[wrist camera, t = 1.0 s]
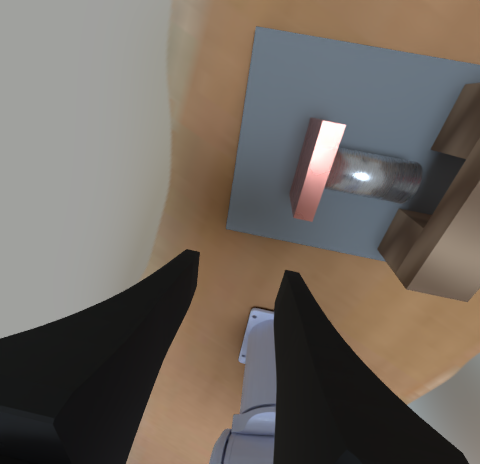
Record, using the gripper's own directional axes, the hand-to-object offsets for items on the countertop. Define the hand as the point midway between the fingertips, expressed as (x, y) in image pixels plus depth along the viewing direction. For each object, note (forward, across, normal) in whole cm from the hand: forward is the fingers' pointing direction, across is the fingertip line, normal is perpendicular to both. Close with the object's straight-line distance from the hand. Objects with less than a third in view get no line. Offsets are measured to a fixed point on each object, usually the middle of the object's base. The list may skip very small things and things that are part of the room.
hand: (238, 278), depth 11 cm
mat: (+10, -8, -4) cm, 14 cm away
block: (+10, -13, -4) cm, 17 cm away
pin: (+10, -6, -4) cm, 12 cm away
